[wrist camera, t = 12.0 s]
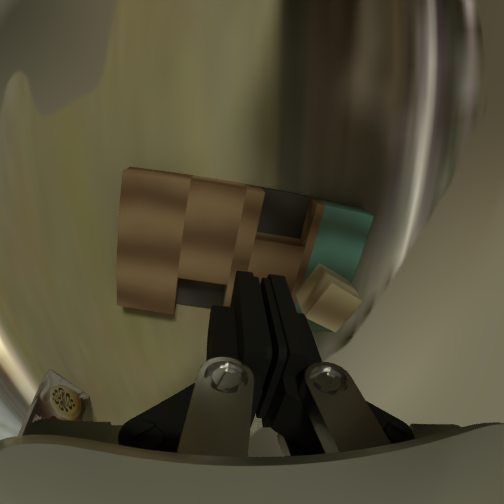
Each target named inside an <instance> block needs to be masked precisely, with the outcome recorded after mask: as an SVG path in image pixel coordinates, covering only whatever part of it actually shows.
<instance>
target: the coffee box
mask: <svg viewBox="0 0 504 504" xmlns="http://www.w3.org/2000/svg"><path fill="white" fill-rule="evenodd" d="M88 399H89V395H87V394H86V393H84V392H83V391H81V390H79V389H78V388H76V387H75V386H73V385H72V384H70V383H69V382H68V381H66V380H65V379H63V378H62V377H60V376H59V375H58V374H56V373H55V372H53V371H52V370H50V371H49V372H48V373H47V375H46V376H45V377H44V379H43V380H42V381H41V384H40V386H39V388H38V391H37V393H36V395H35V397H34V399H33V402H32V404H31V406H30V408H29V411H28V413H27V415H26V418H25V420H24V422H23V425H22V427H21V430H20V432H19V435H18V436H23V435H25V432H26V429H27V428H28V427H29V425H30V424H31V423H32V422H35V421H37V420H39V419H55V420H70V421H82V418H83V415H84V411H85V408H86V405H87V402H88Z"/></svg>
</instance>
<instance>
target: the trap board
mask: <svg viewBox="0 0 504 504" xmlns="http://www.w3.org/2000/svg"><path fill="white" fill-rule="evenodd" d="M373 218H374V216H373V215H372V214H370V213H369V212H368V211H366V210H365V209H362V208H358V207H354V206H350V205H345V204H341V203H336V202H332V201H327V200H323V199H318V198H314V197H309V196H304V195H299V194H294V193H289V192H284V191H279V190H274V189H269V188H264V187H258V186H253V185H247V184H242V183H236V182H230V181H224V180H218V179H212V178H206V177H200V176H193V175H186V174H180V173H173V172H165V171H158V170H150V169H143V168H135V167H129V168H128V169H126V170H124V171H123V175H122V185H121V196H120V209H119V225H118V247H117V305H118V306H124V307H129V308H135V309H141V310H147V311H153V312H159V313H166V314H172V315H174V311H175V306H176V303H178V304H185V305H192V306H199V307H206V308H211V306H212V305H218V306H228V307H230V304H231V298H232V293H233V287H234V281H235V276H236V271H237V270H238V271H246V272H253V275H254V277H258V278H259V282H260V284H261V280H262V278H267V277H268V275H269V274H272V275H281V276H285V278H286V281H287V284H288V287H289V290H290V293H291V295H292V298H293V301H294V304H295V307H296V310H297V313H302V310H301V308H300V305H299V303H298V300H297V298H296V295H295V293H296V292H297V291H298V289H299V288H300V287H301V286H302V284H303V283H304V282H305V281H306V279H307V278H308V277H309V275H310V274H311V273H312V272H313V270H314V269H315V268H316V266H317V265H318V264H319V263H321V264H322V265H324V266H326V267H327V268H329V269H330V270H332V271H334V272H335V273H337V274H338V275H340V276H342V277H343V278H345V279H346V280H348V281H349V282H350V284H351V282H352V279H353V277H354V274H355V271H356V268H357V266H358V263H359V260H360V257H361V254H362V251H363V248H364V245H365V242H366V239H367V236H368V233H369V230H370V227H371V224H372V221H373ZM307 321H308V324H309V327H310V329H311V330H315V331H330V332H332V330H329V329H327V328H325V327H323V326H321V325H319V324H317V323H315V322H313V321H311V320H309V319H307Z"/></svg>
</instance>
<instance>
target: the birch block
mask: <svg viewBox="0 0 504 504" xmlns="http://www.w3.org/2000/svg"><path fill="white" fill-rule="evenodd" d="M295 295H296V298H297V300H298V303H299V305H300V308H301V310H302V313H303V314H305V316H306V318H307V319H309V320H311V321H313V322H315V323H317V324H319V325H321V326H323V327H325V328H327V329H329V330H332V331H334V332H337V331H338V330H339V329H340V327H341V326H342V325H343V324H344V323H345V322H346V321H347V320H348V318H349V317H350V316H351V315H352V314H353V313H354V311H355V310H356V309H357V308H358V307H359V306H360V304H361V303H362V302H363V301H362V299H361V298H360V296H359V295H358V294H357V292H356V291H355V289H354V288H353V287H352V285H351V284H350V282H349V281H348V280H346V279H345V278H343V277H342V276H340V275H338V274H337V273H335V272H334V271H332V270H330V269H329V268H327V267H326V266H324V265H322V264H321V263H319V264H318V265H317V266H316V268H315V269H314V270H313V272H312V273H311V274H310V275H309V277H308V278H307V279H306V281H305V282H304V283H303V284H302V286H301V287H300V288H299V289H298V291H297V292H296V293H295Z"/></svg>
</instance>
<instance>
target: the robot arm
mask: <svg viewBox="0 0 504 504" xmlns="http://www.w3.org/2000/svg"><path fill="white" fill-rule="evenodd" d="M255 413H256V417H257V418H262V424H263V427H271V428H272V429H273V430H274V431H276V432H277V433H278V436H277V438H278V443H279V446H280V449H281V452H282V454H283V457H247V456H248V447H249V436H250V428H251V425H252V422H253V419H254V416H255ZM0 504H504V423H499V422H496V423H495V422H494V423H481V424H474V425H469V426H466V427H460V426H458V425H454V424H411V425H410V426H408V425H407V424H406V423H404V422H403V421H401V420H399V419H398V418H396V417H394V416H392V415H390V414H389V413H387V412H385V411H383V410H381V409H380V408H378V407H376V406H374V405H373V404H371V403H369V402H367V401H366V400H365V399H364V397H363V396H362V394H361V392H360V391H359V389H358V387H357V386H356V384H355V383H354V381H353V379H352V377H351V376H350V375H349V374H348V372H347V371H346V370H344V369H343V368H342V367H340V366H338V365H336V364H333V363H329V362H322V360H321V357H320V355H319V352H318V349H317V346H316V343H315V341H314V338H313V335H312V332H311V329H310V327H309V324H308V321H307V318H306V316H305V314H303V313H297V310H296V307H295V304H294V301H293V298H292V295H291V293H290V290H289V287H288V284H287V281H286V278H285V276H281V275H272V274H269V275H268V277H267V278H262V280H261V284H260V282H259V278H258V277H254V275H253V272H246V271H238V270H237V271H236V276H235V281H234V287H233V293H232V298H231V304H230V307H228V306H218V305H212V306H211V312H210V320H209V328H208V339H207V361H206V362H205V363H204V364H202V365H201V367H200V369H199V371H198V375H197V379H196V382H195V383H194V384H192V385H190V386H189V387H187V388H185V389H184V390H182V391H180V392H178V393H177V394H175V395H173V396H172V397H170V398H168V399H166V400H165V401H163V402H161V403H159V404H158V405H156V406H154V407H152V408H150V409H149V410H147V411H145V412H143V413H141V414H140V415H138V416H136V417H134V418H132V419H130V420H129V421H128V422H126V423H125V424H124V425H111V422H94V421H70V420H55V419H39V420H37V421H35V422H32V423H31V424H30V425H29V427H28V428H27V429H26V432H25V435H23V436H15V437H10V438H6V439H3V440H0Z"/></svg>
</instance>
